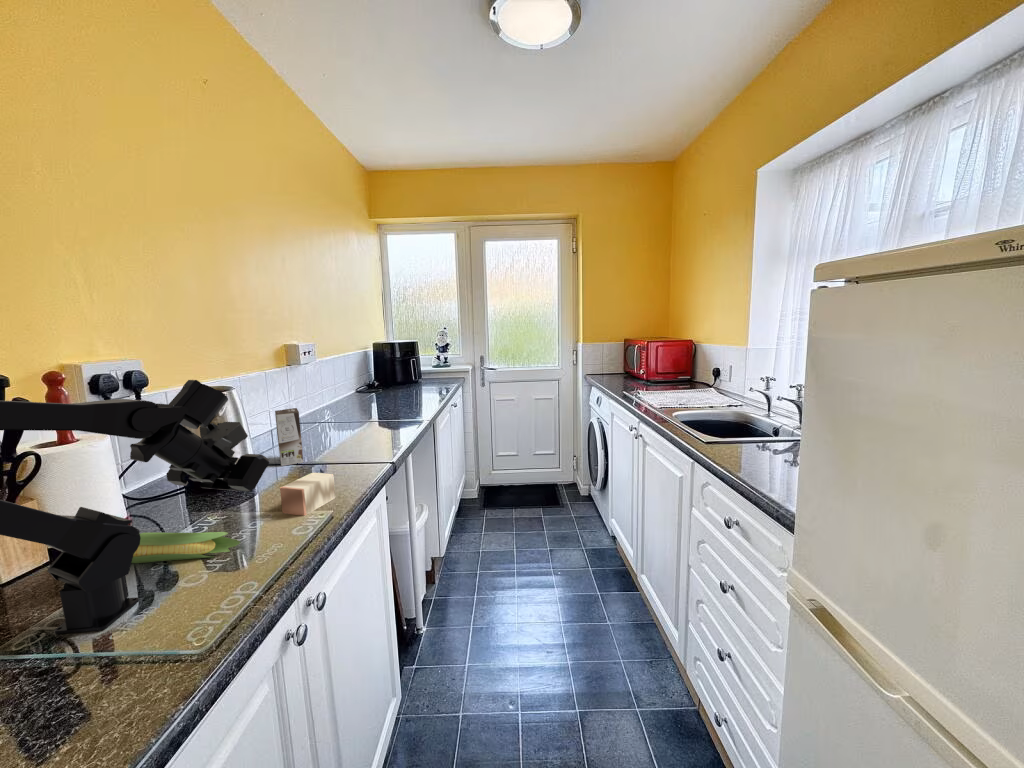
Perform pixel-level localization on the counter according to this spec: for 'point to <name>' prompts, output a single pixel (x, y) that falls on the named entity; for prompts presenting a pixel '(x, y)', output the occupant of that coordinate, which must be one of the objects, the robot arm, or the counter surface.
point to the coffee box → (289, 436)
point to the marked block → (307, 493)
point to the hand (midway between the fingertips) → (249, 489)
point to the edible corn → (180, 546)
